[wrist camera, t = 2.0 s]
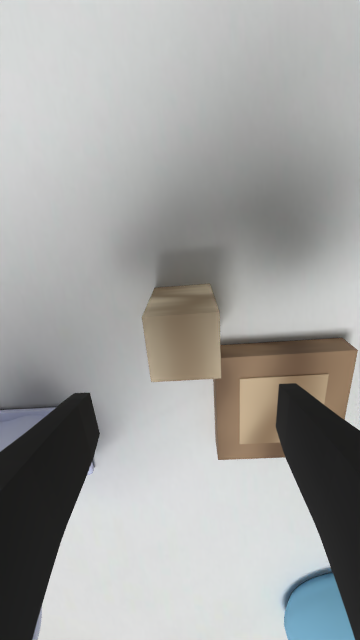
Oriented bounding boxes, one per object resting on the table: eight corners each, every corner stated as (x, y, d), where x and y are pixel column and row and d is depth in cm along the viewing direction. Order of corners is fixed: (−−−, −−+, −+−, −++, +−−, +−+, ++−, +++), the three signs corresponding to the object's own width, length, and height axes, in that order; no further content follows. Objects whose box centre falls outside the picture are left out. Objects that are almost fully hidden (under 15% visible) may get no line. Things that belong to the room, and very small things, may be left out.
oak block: (160, 337, 21) (151, 382, 15) (154, 287, 19) (141, 317, 14) (211, 333, 20) (221, 378, 15) (209, 283, 19) (219, 312, 13)
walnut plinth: (215, 441, 24) (218, 461, 22) (212, 345, 21) (214, 359, 19) (325, 436, 24) (338, 456, 22) (341, 337, 20) (358, 350, 18)
